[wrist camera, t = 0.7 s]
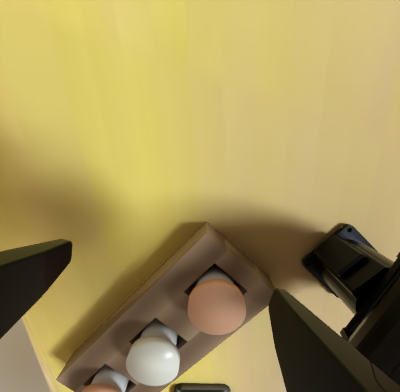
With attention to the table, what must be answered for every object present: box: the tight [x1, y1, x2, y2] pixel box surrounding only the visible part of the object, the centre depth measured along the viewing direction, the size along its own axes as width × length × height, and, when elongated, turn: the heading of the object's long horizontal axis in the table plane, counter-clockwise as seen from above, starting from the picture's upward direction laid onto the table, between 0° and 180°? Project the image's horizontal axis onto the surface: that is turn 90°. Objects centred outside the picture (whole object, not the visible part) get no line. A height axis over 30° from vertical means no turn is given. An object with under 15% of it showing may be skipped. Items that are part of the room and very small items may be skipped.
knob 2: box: [188, 267, 246, 335], centre depth 19 cm, size 5×5×4 cm
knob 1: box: [81, 364, 129, 392], centre depth 23 cm, size 5×5×4 cm
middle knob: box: [126, 318, 180, 386], centre depth 21 cm, size 5×5×4 cm
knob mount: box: [56, 222, 275, 392], centre depth 23 cm, size 10×26×3 cm, turn 137°
